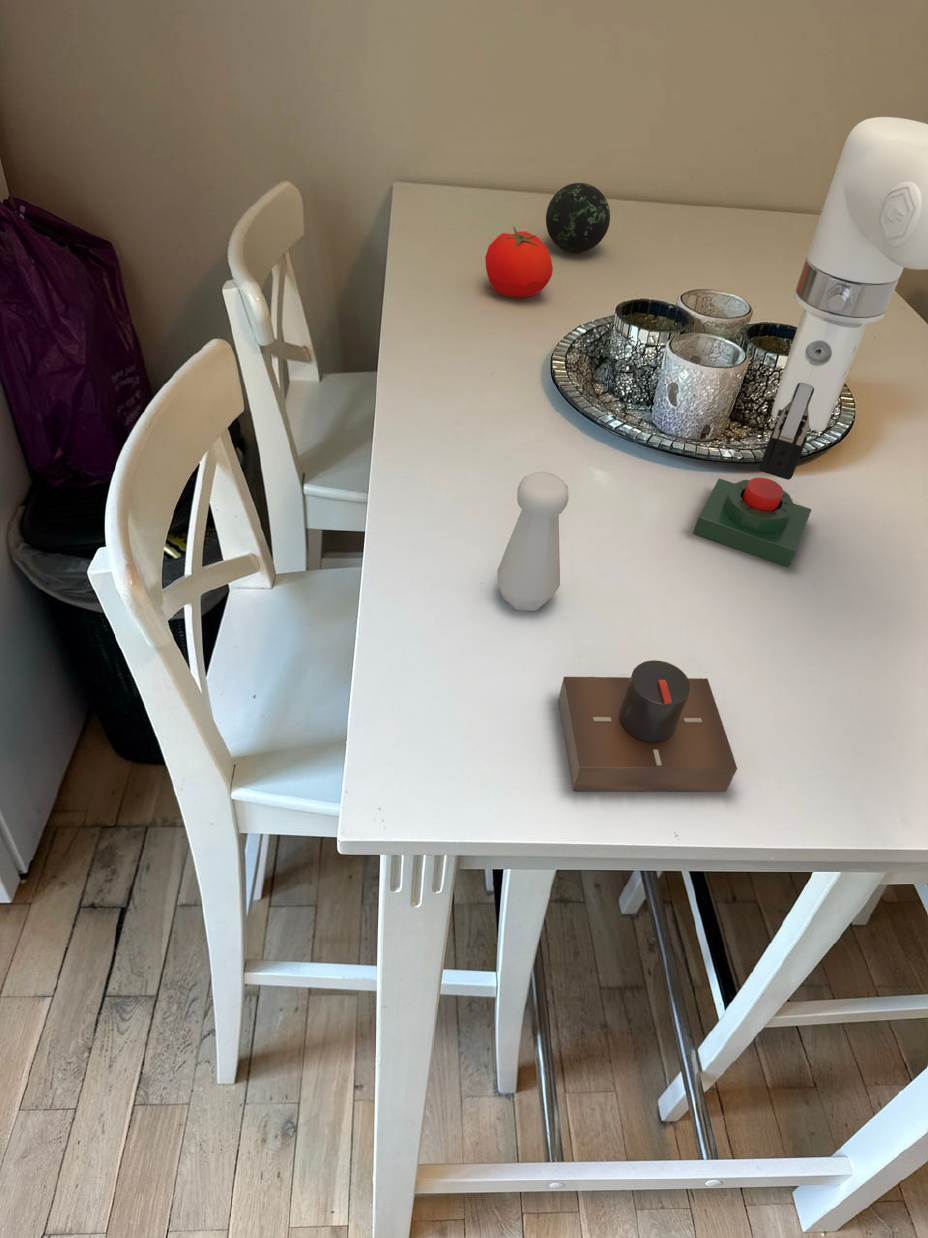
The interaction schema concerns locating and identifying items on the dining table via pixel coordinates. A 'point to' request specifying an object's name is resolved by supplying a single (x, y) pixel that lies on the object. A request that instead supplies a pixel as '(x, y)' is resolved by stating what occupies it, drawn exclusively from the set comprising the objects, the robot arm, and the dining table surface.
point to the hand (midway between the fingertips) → (776, 471)
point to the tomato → (518, 264)
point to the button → (763, 494)
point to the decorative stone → (577, 217)
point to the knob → (654, 701)
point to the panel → (631, 764)
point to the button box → (752, 523)
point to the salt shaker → (534, 543)
